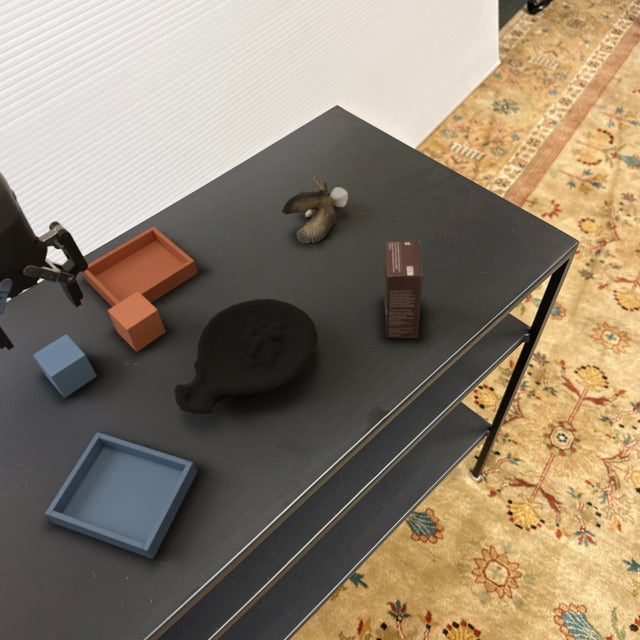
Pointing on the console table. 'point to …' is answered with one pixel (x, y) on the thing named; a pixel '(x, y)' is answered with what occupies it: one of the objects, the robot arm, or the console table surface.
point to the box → (403, 288)
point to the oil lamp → (248, 353)
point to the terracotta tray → (140, 268)
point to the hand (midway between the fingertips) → (42, 323)
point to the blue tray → (123, 494)
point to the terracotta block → (137, 321)
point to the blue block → (65, 365)
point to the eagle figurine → (316, 210)
